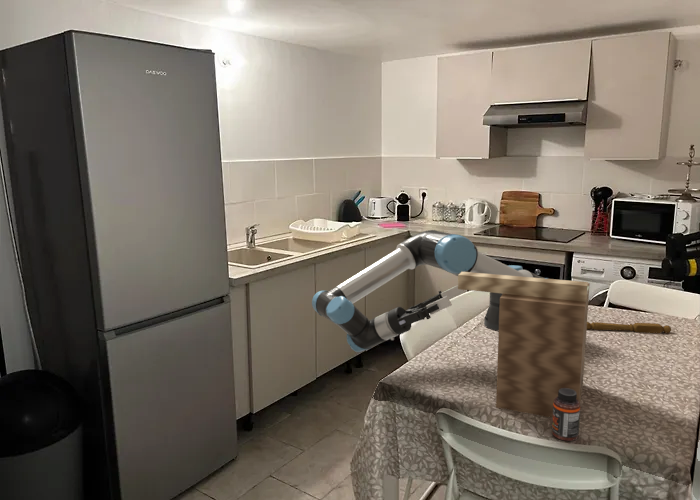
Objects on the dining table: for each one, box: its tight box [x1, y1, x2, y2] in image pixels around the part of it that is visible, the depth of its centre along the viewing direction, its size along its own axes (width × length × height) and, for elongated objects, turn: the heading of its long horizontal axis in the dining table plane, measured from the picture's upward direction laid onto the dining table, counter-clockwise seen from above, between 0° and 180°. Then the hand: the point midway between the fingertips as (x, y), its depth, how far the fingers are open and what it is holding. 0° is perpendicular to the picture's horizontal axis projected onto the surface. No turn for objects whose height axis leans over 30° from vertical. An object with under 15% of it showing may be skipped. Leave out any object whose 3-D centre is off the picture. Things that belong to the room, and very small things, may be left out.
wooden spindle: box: [587, 321, 672, 335], centre depth 203 cm, size 3×3×30 cm
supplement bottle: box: [551, 388, 581, 442], centre depth 131 cm, size 6×6×11 cm
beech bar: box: [457, 272, 589, 302], centre depth 144 cm, size 32×4×4 cm, turn 64°
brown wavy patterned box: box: [495, 282, 591, 419], centre depth 150 cm, size 20×24×31 cm
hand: (456, 294), depth 152 cm, fingers open, 13 cm apart
